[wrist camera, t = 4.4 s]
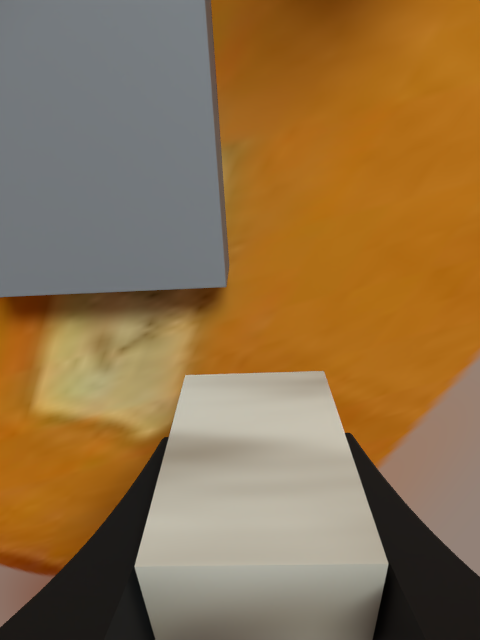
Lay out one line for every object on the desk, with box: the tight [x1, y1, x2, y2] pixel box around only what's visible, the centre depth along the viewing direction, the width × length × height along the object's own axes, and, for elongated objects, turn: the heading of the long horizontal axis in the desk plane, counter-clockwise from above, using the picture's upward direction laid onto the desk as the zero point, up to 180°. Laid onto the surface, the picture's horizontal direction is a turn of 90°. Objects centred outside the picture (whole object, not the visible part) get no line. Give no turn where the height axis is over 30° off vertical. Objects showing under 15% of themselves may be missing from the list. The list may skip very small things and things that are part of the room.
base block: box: [0, 0, 229, 297], centre depth 13 cm, size 10×10×3 cm
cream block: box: [134, 371, 388, 640], centre depth 10 cm, size 4×4×6 cm
